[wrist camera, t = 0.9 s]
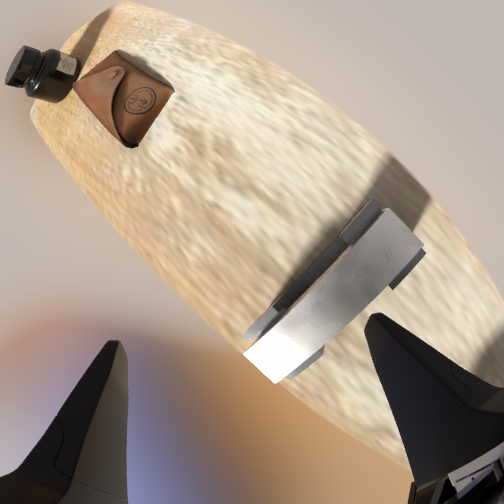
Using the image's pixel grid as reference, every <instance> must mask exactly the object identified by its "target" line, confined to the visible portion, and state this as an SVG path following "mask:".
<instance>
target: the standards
mask: <svg viewBox="0 0 504 504" xmlns="http://www.w3.org/2000/svg"><path fill="white" fill-rule="evenodd" d="M379 206H380V204H379V203H378V202H376V201H375V200H374V199H371V200H370V201H369V202H368V203H367V204H366V205H365V206H364V207H363V208H362V209H361V210H360V211H359V213H358V214H357V215H356V216H355V217H354V218H353V219H352V220H351V222H350V223H349V224H348V225H347V226H346V227H345V228H344V229H343V231H342V232H341V233H340V234H339V235H338V236H337V237H336V238H335V239H334V240H333V241H332V243H331V244H330V245H329V246H328V247H327V248H326V249H325V250H324V251H323V252H322V253H321V254H320V256H319V257H318V258H317V259H316V260H315V261H314V262H313V263H312V264H311V265H310V266H309V267H308V268H307V269H306V270H305V271H304V272H303V273H302V275H301V276H300V277H299V278H298V279H297V280H296V281H295V282H294V283H293V284H292V285H291V286H290V287H289V288H288V289H287V290H286V291H285V292H284V293H283V294H282V295H281V296H280V297H279V298H278V299H277V300H276V301H275V302H274V303H273V304H272V305H271V306H270V307H269V308H268V309H267V310H266V311H265V312H264V313H263V314H262V315H261V316H260V317H259V319H258V320H257V321H256V322H255V323H254V324H253V325H252V326H251V327H250V328H249V329H248V330H247V331H246V332H245V333H244V334H243V336H244V337H245V338H246V339H247V340H248V341H250V340H251V339H252V338H253V337H254V336H256V337H257V338H258V337H259V336H260V335H261V334H262V333H263V332H264V331H265V330H266V329H267V328H268V327H269V326H271V325H272V324H273V323H274V322H275V321H276V320H277V319H278V318H279V317H280V316H281V315H282V314H283V313H284V312H285V311H286V310H287V309H288V308H289V307H290V306H291V305H292V304H293V303H294V302H295V301H297V300H298V299H299V298H300V297H301V296H302V295H303V294H304V293H305V292H306V291H307V290H308V289H309V288H310V287H311V286H312V285H313V284H314V282H315V281H316V280H317V279H318V278H319V277H320V276H321V275H322V274H323V273H324V272H325V271H326V270H327V269H328V268H329V267H330V266H331V265H332V264H333V263H334V262H335V261H336V260H337V259H338V258H339V256H340V255H341V254H342V253H343V252H344V251H345V250H346V249H347V248H348V247H349V246H350V245H351V244H352V242H353V241H354V240H355V239H356V238H357V237H358V236H359V235H360V234H361V233H362V231H363V230H364V229H365V228H366V227H367V226H368V225H369V224H370V222H371V221H372V220H373V219H374V218H375V217H376V216H377V214H378V213H379V212H380V211H381V209H380V208H379ZM425 254H426V252H425V251H424V250H423V249H422V248H421V249H420V250H419V251H418V252H417V254H416V255H415V256H414V257H413V258H412V259H411V260H410V262H409V263H408V264H407V265H406V266H405V267H404V268H403V269H402V270H401V271H400V273H399V274H398V275H397V276H396V277H395V278H394V279H393V280H392V281H391V282H390V283H389V284H388V285H389V287H390V288H391V289H392V290H393V289H394V288H395V287H396V286H397V285H398V284H399V283H400V282H401V281H402V280H403V279H404V278H405V277H406V276H407V275H408V274H409V272H410V271H411V270H412V269H413V268H414V267H415V266H416V265H417V263H418V262H419V261H420V260H421V259H422V258H423V257H424V255H425ZM324 347H325V345H324V346H322V347H321V348H320V349H319V350H318V351H316V352H315V353H314V354H313V355H312V356H310V357H309V358H308V359H307V360H305V361H304V362H303V363H302V364H300V365H299V366H298V367H297V368H295V369H294V370H293V371H292V372H290V373H289V374H288V375H286V377H287V378H289V379H290V380H291V379H293V378H294V377H295V376H297V375H298V374H299V373H301V372H302V371H303V370H305V369H306V368H307V367H308V366H310V365H311V364H312V363H313V362H315V361H316V360H317V359H318V358H320V357H321V356H322V355H323V351H324Z"/></svg>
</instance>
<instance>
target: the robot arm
mask: <svg viewBox="0 0 504 504" xmlns="http://www.w3.org/2000/svg"><path fill="white" fill-rule="evenodd" d="M364 334H365V337H366V340H367V344H368V347H369V350H370V354H371V357H372V360H373V364H374V367H375V369H376V372H377V374H378V377H379V379H380V382H381V384H382V387H383V389H384V392H385V395H386V397H387V400H388V402H389V405H390V408H391V410H392V413H393V416H394V419H395V421H396V424H397V427H398V430H399V433H400V436H401V439H402V442H403V445H404V448H405V451H406V454H407V457H408V460H409V463H410V467H411V470H412V473H413V476H414V480H415V481H414V482H412V483H411V489H410V493H409V499H408V504H504V388H499V387H495V386H493V385H491V384H489V383H487V382H485V381H484V380H482V379H480V378H478V377H477V376H475V375H473V374H472V373H470V372H468V371H467V370H465V369H463V368H462V367H460V366H459V365H457V364H456V363H454V362H453V361H452V360H450V359H448V358H447V357H446V356H444V355H443V354H441V353H440V352H439V351H437V350H436V349H434V348H433V347H431V346H430V345H428V344H427V343H426V342H424V341H423V340H421V339H420V338H418V337H417V336H415V335H414V334H412V333H411V332H409V331H408V330H406V329H405V328H404V327H402V326H401V325H399V324H398V323H396V322H395V321H393V320H392V319H390V318H389V317H387V316H386V315H384V314H383V313H374V314H371V315H370V317H369V319H368V322H367V324H366V326H365V329H364ZM128 399H129V398H128V359H127V354H126V352H125V350H124V348H123V346H122V344H121V342H120V341H119V340H109V341H107V343H106V344H105V345H104V347H103V348H102V349H101V351H100V352H99V353H98V355H97V356H96V358H95V359H94V360H93V362H92V363H91V365H90V366H89V367H88V369H87V370H86V372H85V373H84V375H83V376H82V378H81V379H80V380H79V382H78V383H77V385H76V386H75V388H74V389H73V391H72V392H71V394H70V395H69V397H68V398H67V400H66V401H65V403H64V404H63V406H62V407H61V409H60V410H59V412H58V413H57V416H56V417H55V418H54V420H53V421H52V423H51V424H50V426H49V427H48V429H47V430H46V432H45V433H44V435H43V436H42V438H41V439H40V440H39V441H38V443H37V444H36V446H35V447H34V448H33V449H32V451H31V452H30V453H29V455H28V456H27V457H26V459H25V460H24V461H23V462H22V464H21V465H20V466H19V467H18V468H17V469H16V470H15V471H13V472H11V473H9V474H7V475H4V476H2V477H0V504H128V496H127V473H126V472H127V468H126V467H127V465H126V451H127V450H126V449H127V448H126V447H127V418H128Z"/></svg>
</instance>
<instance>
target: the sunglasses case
mask: <svg viewBox="0 0 504 504" xmlns="http://www.w3.org/2000/svg"><path fill="white" fill-rule="evenodd" d="M73 89H74V91H75V92H76V93H77V94H78V96H79V97H80V99H81V100H82V101H83V103H84V104H85V105H86V106H87V107H88V108H89V109H90V111H91V112H92V113H93V114H94V115H95V116H96V118H97V119H98V120H99V121H100V122H101V123H102V124H103V125H104V127H105V128H106V129H107V130H108V131H109V132H110V133H111V134H112V135H113V136H114V137H115V138H116V139H118V140H119V141H120V142H121V143H122V144H123V145H124V146H125V147H127V148H135V147H138V145H139V143H140V142H141V140H142V139H143V137H144V136H145V134H146V133H147V131H148V129H149V128H150V126H151V125H152V123H153V122H154V120H155V119H156V117H157V116H158V115H159V113H160V112H161V110H162V109H163V107H164V106H165V104H166V103H167V101H168V99H169V98H170V96H171V95H172V94H173V93H174V92H175V91H174V89H173V88H172V87H170V86H168V85H166V84H164V83H162V82H161V81H158V80H156V79H154V78H152V77H151V76H149V75H147V74H146V73H144V72H143V71H141V70H139V69H138V68H136V67H135V66H133V65H132V64H130V63H129V62H128V61H126V60H125V59H123V58H122V57H121V56H120V55H119V54H118V53H117V52H116V51H113V52H112V53H111V54H110V55H109V56H108V57H107V58H105V59H104V60H103V61H101V62H100V63H99V64H97V65H96V66H95V67H94V68H93V69H91V70H90V71H89V72H88V73H87V74H85V75H84V76H83V77H82V78H81V79H80V80H79V81H76V82H74V83H73Z"/></svg>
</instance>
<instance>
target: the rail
mask: <svg viewBox="0 0 504 504" xmlns="http://www.w3.org/2000/svg"><path fill="white" fill-rule="evenodd" d="M423 245H424V244H423V243H422V242H421V241H420V240H419V239H418V237H417V236H416V235H415V234H414V233H413V232H412V231H411V230H410V229H409V228H408V227H407V226H406V225H405V224H404V223H403V221H402V220H401V219H400V218H399V217H398V216H397V215H396V214H395V213H394V212H393V211H392V210H391V209H390V208H389V207H388V208H385V209H383V210H381V211H380V212H379V213H378V214H377V216H376V217H375V218H374V219H373V220H372V221H371V222H370V224H369V225H368V226H367V227H366V228H365V229H364V230H363V231H362V233H361V234H360V235H359V236H358V237H357V238H356V239H355V240H354V241H353V242H352V244H351V245H350V246H349V247H348V248H347V249H346V250H345V251H344V252H343V253H342V254H341V255H340V256H339V258H338V259H337V260H336V261H335V262H334V263H333V264H332V265H331V266H330V267H329V268H328V269H327V270H326V271H325V272H324V273H323V274H322V275H321V276H320V277H319V278H318V279H317V280H316V281H315V282H314V284H313V285H312V286H311V287H310V288H309V289H308V290H307V291H306V292H305V293H304V294H303V295H302V296H301V297H300V298H299V299H298V300H297V301H295V302H294V303H293V304H292V305H291V306H290V307H289V308H288V309H287V310H286V311H285V312H284V313H283V314H282V315H281V316H280V317H279V318H278V319H277V320H276V321H275V322H274V323H273V324H272V325H271V326H269V327H268V328H267V329H266V330H265V331H264V332H263V333H262V334H261V335H260V336H259V337H258V338H257V339H256V340H255V341H254V343H253V344H252V345H251V346H250V347H249V349H248V350H247V351H246V352H245V353H244V355H245V356H246V357H247V358H248V359H249V360H250V361H251V362H252V363H253V364H254V365H255V366H257V367H258V368H259V369H260V370H261V371H262V372H263V373H264V374H265V375H266V376H267V377H269V379H271V380H272V381H273V382H274V383H275V384H276V383H277V382H278V381H280V380H281V379H282V378H284V377H285V376H286V375H288V374H289V373H290V372H292V371H293V370H294V369H295V368H297V367H298V366H299V365H300V364H302V363H303V362H304V361H305V360H307V359H308V358H309V357H310V356H312V355H313V354H314V353H315V352H316V351H318V350H319V349H320V348H321V347H322V346H324V345H325V344H326V343H327V342H328V341H329V340H330V339H332V338H333V337H334V336H335V335H336V334H337V333H338V332H340V331H341V330H342V329H343V328H344V327H345V326H346V325H347V324H348V323H349V322H351V321H352V320H353V319H354V318H355V317H356V316H357V315H358V314H359V313H360V312H361V311H362V310H363V309H364V308H365V307H366V306H367V305H368V304H369V303H370V302H371V301H373V300H374V299H375V298H376V297H377V296H378V295H379V294H380V292H381V291H382V290H383V289H384V288H385V287H386V286H387V285H388V284H389V283H390V282H391V281H392V280H393V279H394V278H395V277H396V276H397V275H398V274H399V273H400V271H401V270H402V269H403V268H404V267H405V266H406V265H407V264H408V263H409V262H410V260H411V259H412V258H413V257H414V256H415V255H416V254H417V252H418V251H419V250H420V249H421V248H422V247H423Z"/></svg>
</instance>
